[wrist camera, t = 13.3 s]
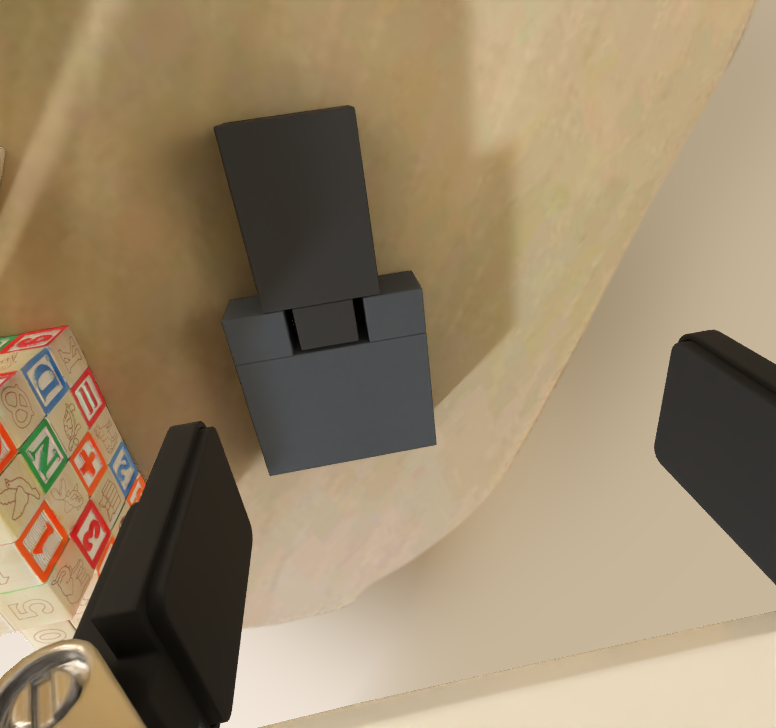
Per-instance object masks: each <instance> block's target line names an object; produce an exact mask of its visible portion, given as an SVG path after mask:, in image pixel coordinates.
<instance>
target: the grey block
mask: <svg viewBox="0 0 776 728" xmlns="http://www.w3.org/2000/svg"><path fill="white" fill-rule="evenodd" d="M378 280H379V288H380V294H376V295H370V296H364V297H361V302H362V308H363V314H364V320H365V321H360V322H356V324H357V330H358V336H359V340H358V341H353V342H347V343H341V344H335V345H330V346H324V347H318V348H312V349H306V350H302V349H301V345H300V341H299V337H298V332H295V333H294V328H293V324H292V319H291V315H290V311H289V309H287V310H281V311H275V312H269V313H263V311H262V307H261V304H260V300H259V296H252V297H246V298H240V299H234V300H229V303H228V306H227V308H226V311H225V314H224V316H223V319H222V326H223V329H224V332H225V335H226V338H227V342H228V345H229V348H230V351H231V354H232V357H233V361H234V364H235V367H236V370H237V373H238V377H239V380H240V383H241V386H242V389H243V392H244V396H245V399H246V402H247V405H248V408H249V412H250V415H251V418H252V421H253V424H254V428H255V431H256V434H257V437H258V440H259V443H260V447H261V450H262V453H263V456H264V459H265V463H266V466H267V469H268V472H269V475H270V476H273V475H278V474H284V473H289V472H294V471H299V470H305V469H310V468H315V467H321V466H326V465H331V464H337V463H342V462H347V461H353V460H358V459H363V458H369V457H374V456H379V455H385V454H390V453H395V452H401V451H406V450H411V449H417V448H422V447H427V446H433V445H436V433H435V422H434V412H433V401H432V390H431V379H430V368H429V357H428V346H427V336H426V325H425V315H424V304H423V293H422V288H421V286H420V284H419V283H418V281H417V279H416V278H415V276H414V274H413V272H412V271H405V272H399V273H393V274H387V275H381V276H378Z"/></svg>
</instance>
